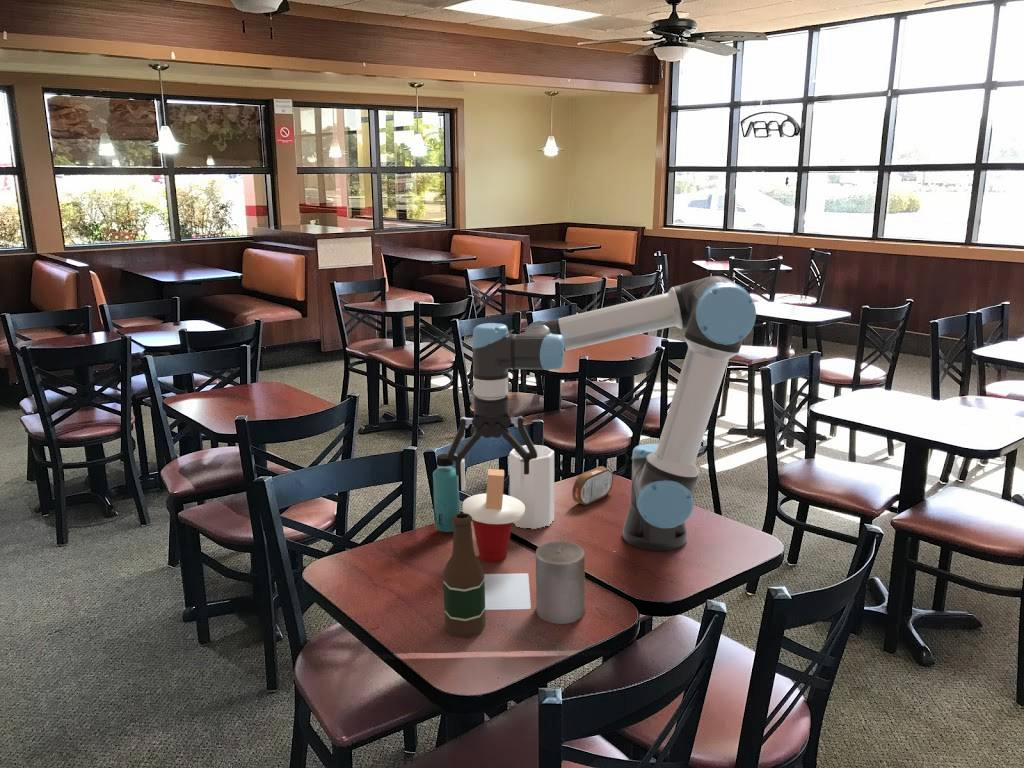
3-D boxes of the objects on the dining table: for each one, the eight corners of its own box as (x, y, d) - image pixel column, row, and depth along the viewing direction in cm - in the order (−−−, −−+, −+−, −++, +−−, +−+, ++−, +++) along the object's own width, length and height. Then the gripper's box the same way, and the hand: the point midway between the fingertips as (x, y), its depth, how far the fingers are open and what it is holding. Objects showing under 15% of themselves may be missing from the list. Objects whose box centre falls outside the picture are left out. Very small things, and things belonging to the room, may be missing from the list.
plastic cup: (512, 572, 180) (512, 522, 177) (465, 568, 182) (463, 518, 179) (521, 550, 191) (521, 502, 188) (476, 547, 193) (475, 499, 190)
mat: (528, 576, 178) (528, 573, 178) (530, 612, 164) (530, 608, 164) (459, 577, 178) (459, 574, 178) (456, 613, 164) (455, 610, 163)
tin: (605, 490, 226) (606, 461, 224) (615, 493, 224) (615, 464, 222) (571, 506, 215) (571, 476, 213) (580, 509, 213) (580, 479, 211)
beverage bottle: (465, 529, 202) (463, 452, 197) (452, 539, 197) (450, 461, 192) (442, 524, 205) (440, 449, 200) (429, 535, 199) (426, 457, 194)
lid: (523, 499, 190) (526, 462, 188) (525, 525, 177) (528, 486, 174) (463, 496, 190) (465, 459, 188) (460, 522, 176) (463, 482, 174)
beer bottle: (445, 621, 161) (441, 508, 155) (484, 619, 161) (482, 506, 155) (445, 643, 153) (441, 525, 147) (486, 641, 154) (484, 523, 148)
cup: (563, 519, 207) (563, 450, 203) (535, 534, 199) (535, 462, 195) (529, 508, 214) (528, 441, 210) (501, 522, 206) (499, 452, 202)
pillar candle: (559, 597, 170) (559, 530, 166) (595, 614, 163) (595, 545, 159) (525, 614, 163) (524, 545, 159) (561, 633, 156) (560, 562, 152)
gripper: (547, 390, 180) (547, 481, 186) (435, 391, 180) (438, 482, 186) (549, 399, 173) (549, 493, 179) (432, 400, 173) (436, 495, 178)
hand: (492, 488), depth 182 cm, fingers open, 12 cm apart
